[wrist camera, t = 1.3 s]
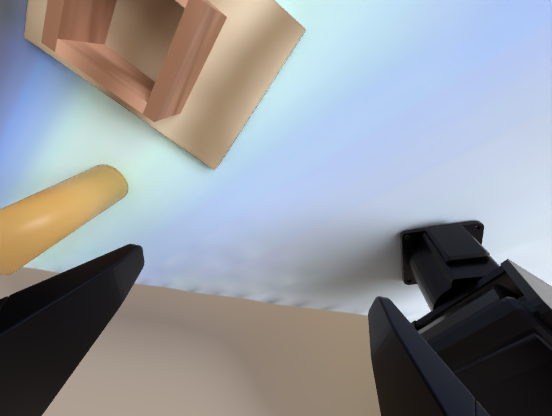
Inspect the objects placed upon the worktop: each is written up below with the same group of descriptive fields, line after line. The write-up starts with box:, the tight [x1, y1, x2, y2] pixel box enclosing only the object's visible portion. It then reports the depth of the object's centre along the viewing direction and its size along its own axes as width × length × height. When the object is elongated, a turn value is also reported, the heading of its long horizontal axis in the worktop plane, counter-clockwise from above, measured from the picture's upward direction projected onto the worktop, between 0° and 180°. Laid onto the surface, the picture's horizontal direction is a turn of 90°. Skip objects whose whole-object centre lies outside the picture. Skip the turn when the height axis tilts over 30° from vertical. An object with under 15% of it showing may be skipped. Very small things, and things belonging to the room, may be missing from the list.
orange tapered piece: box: [0, 165, 128, 275], centre depth 17 cm, size 4×4×15 cm
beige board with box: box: [24, 0, 306, 170], centre depth 15 cm, size 16×12×4 cm
